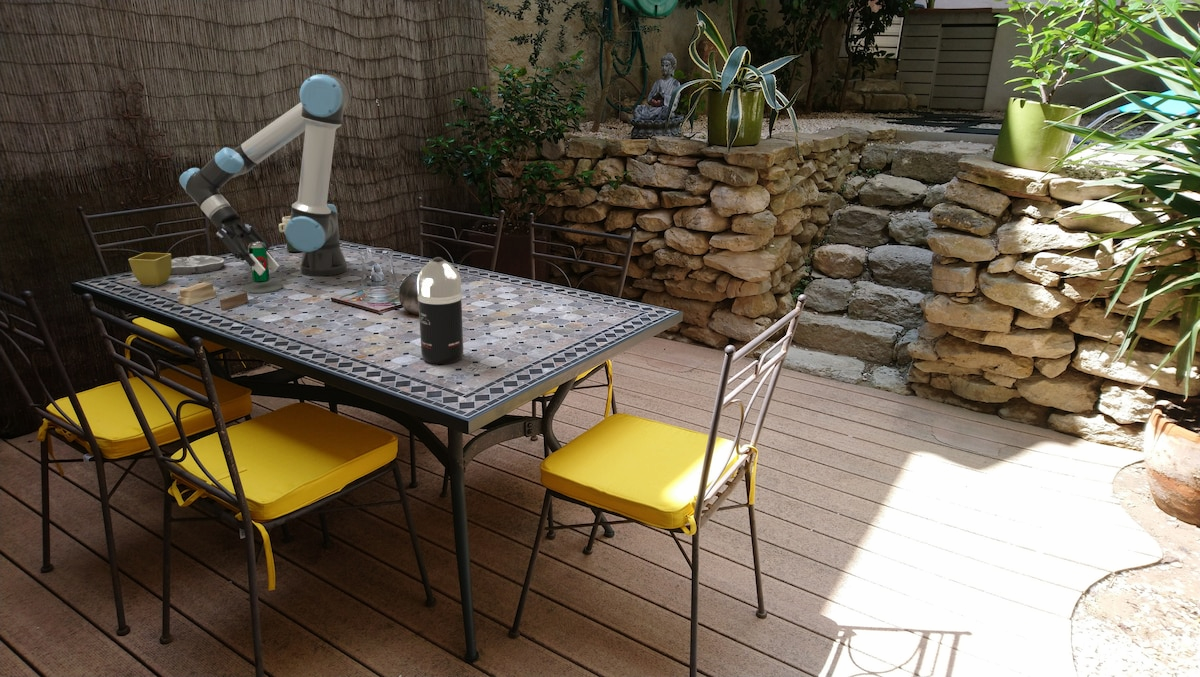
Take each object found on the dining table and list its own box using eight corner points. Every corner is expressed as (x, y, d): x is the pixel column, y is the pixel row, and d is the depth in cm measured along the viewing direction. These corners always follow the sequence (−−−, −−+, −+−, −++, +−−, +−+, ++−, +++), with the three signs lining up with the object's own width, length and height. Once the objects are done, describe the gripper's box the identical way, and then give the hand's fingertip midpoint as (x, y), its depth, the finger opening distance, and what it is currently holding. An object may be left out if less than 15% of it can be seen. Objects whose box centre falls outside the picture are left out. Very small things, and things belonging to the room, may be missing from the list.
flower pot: (160, 288, 228) (155, 259, 225) (132, 287, 228) (127, 258, 225) (176, 280, 236) (171, 253, 233) (149, 279, 237) (144, 252, 234)
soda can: (273, 279, 232) (269, 242, 228) (261, 283, 227) (257, 245, 223) (260, 278, 233) (256, 240, 229) (248, 281, 229) (243, 243, 225)
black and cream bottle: (438, 369, 171) (433, 264, 163) (412, 358, 177) (406, 256, 169) (473, 358, 178) (469, 257, 170) (447, 347, 184) (442, 250, 176)
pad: (287, 282, 237) (287, 280, 237) (278, 292, 226) (278, 291, 226) (247, 283, 235) (247, 281, 235) (237, 293, 224) (236, 291, 224)
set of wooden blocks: (177, 303, 213) (175, 290, 212) (205, 294, 222) (203, 282, 221) (222, 310, 208) (220, 297, 207) (249, 301, 217) (247, 288, 216)
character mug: (305, 247, 285) (301, 214, 281) (314, 251, 280) (310, 217, 276) (277, 251, 278) (273, 217, 273) (286, 255, 273) (282, 220, 269)
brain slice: (219, 261, 263) (218, 253, 262) (228, 271, 250) (227, 263, 249) (156, 268, 252) (155, 259, 251) (163, 279, 239) (161, 270, 238)
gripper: (237, 216, 237) (284, 271, 237) (191, 225, 221) (241, 284, 221) (248, 201, 234) (296, 257, 234) (202, 209, 217) (253, 269, 218)
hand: (269, 270), depth 228 cm, fingers closed on soda can, 5 cm apart
